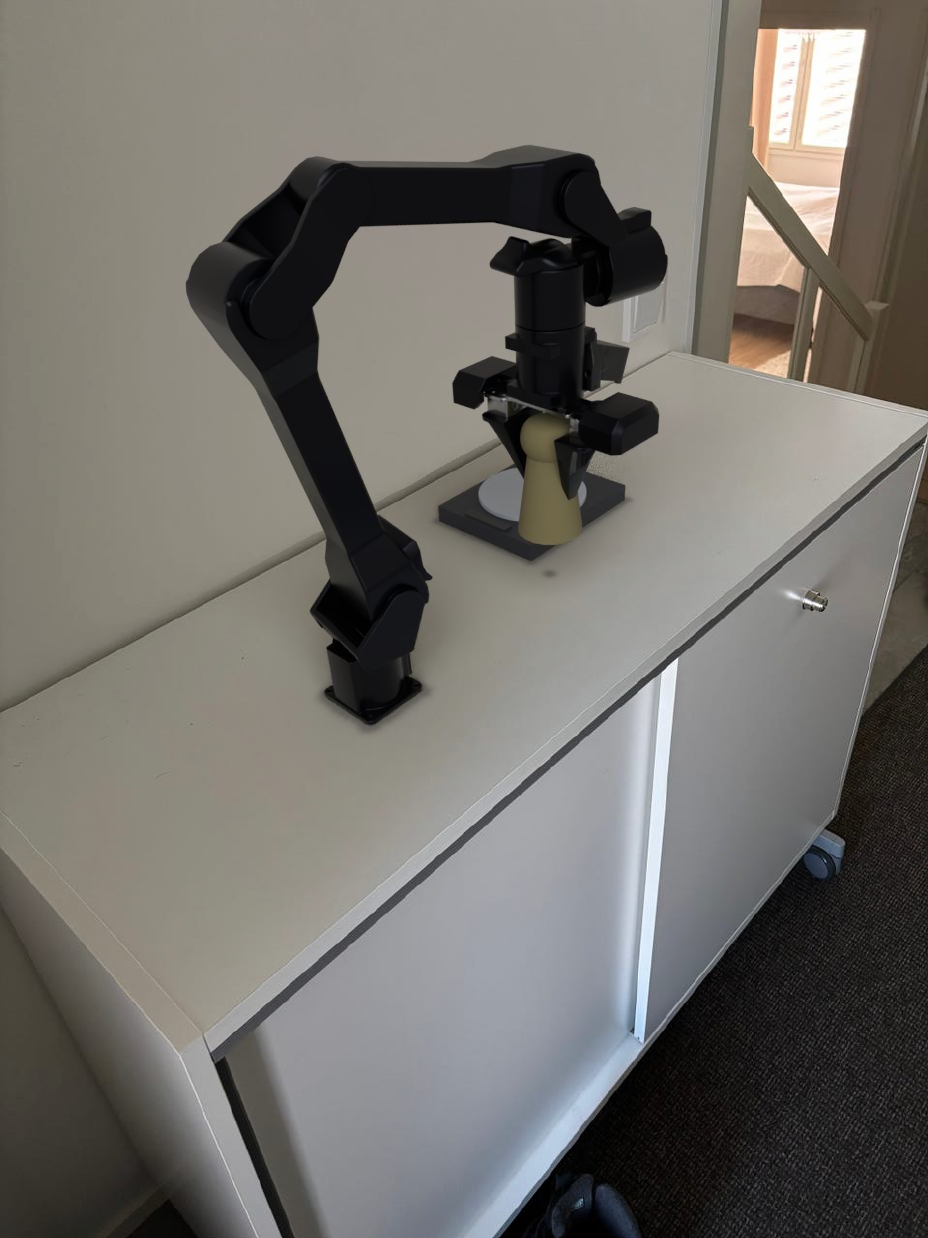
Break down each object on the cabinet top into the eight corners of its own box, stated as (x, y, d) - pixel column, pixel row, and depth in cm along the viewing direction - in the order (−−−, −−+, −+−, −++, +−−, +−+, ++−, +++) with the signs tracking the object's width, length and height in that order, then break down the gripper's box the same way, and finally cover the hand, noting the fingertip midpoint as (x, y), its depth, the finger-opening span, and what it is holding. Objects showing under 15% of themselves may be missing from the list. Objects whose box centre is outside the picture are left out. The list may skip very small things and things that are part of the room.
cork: (593, 521, 86) (597, 411, 80) (563, 551, 82) (564, 437, 76) (537, 506, 89) (536, 399, 83) (505, 535, 85) (501, 424, 79)
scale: (531, 561, 98) (531, 540, 97) (438, 520, 107) (437, 501, 105) (624, 500, 108) (625, 480, 107) (533, 467, 116) (532, 448, 115)
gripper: (704, 313, 74) (688, 487, 83) (528, 276, 85) (531, 433, 94) (621, 355, 67) (613, 538, 77) (442, 309, 78) (454, 474, 88)
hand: (550, 490), depth 84 cm, fingers closed on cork, 4 cm apart
